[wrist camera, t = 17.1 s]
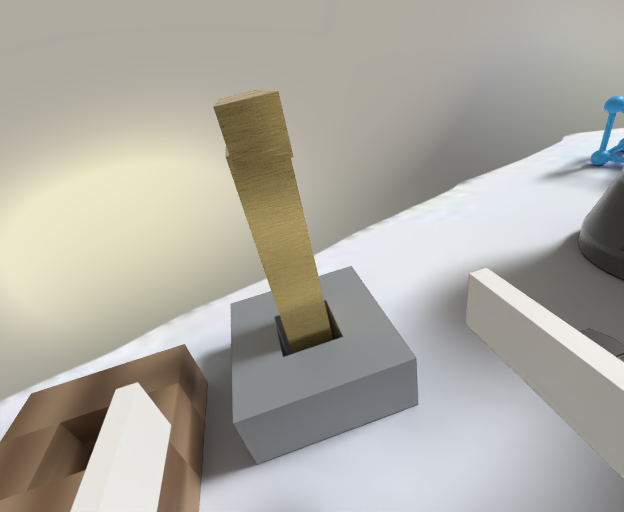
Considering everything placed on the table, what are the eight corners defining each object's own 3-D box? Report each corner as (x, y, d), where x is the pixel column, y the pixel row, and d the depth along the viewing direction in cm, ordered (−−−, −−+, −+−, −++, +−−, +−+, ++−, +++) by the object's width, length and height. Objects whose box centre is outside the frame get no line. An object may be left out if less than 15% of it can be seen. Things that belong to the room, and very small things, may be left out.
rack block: (357, 304, 32) (351, 265, 30) (418, 404, 22) (416, 358, 20) (247, 341, 31) (230, 303, 29) (257, 464, 21) (232, 423, 18)
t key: (319, 321, 32) (260, 88, 21) (359, 419, 22) (289, 88, 11) (289, 331, 31) (213, 100, 20) (316, 435, 22) (202, 109, 11)
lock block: (207, 382, 28) (184, 344, 25) (195, 553, 18) (155, 518, 15) (69, 428, 26) (31, 393, 24) (-30, 643, 16) (-116, 621, 14)
